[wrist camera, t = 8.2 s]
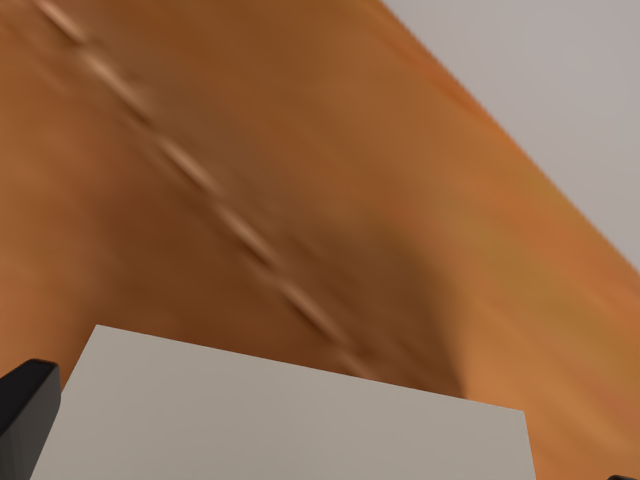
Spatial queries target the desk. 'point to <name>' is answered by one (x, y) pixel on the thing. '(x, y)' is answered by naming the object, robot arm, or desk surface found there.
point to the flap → (263, 421)
